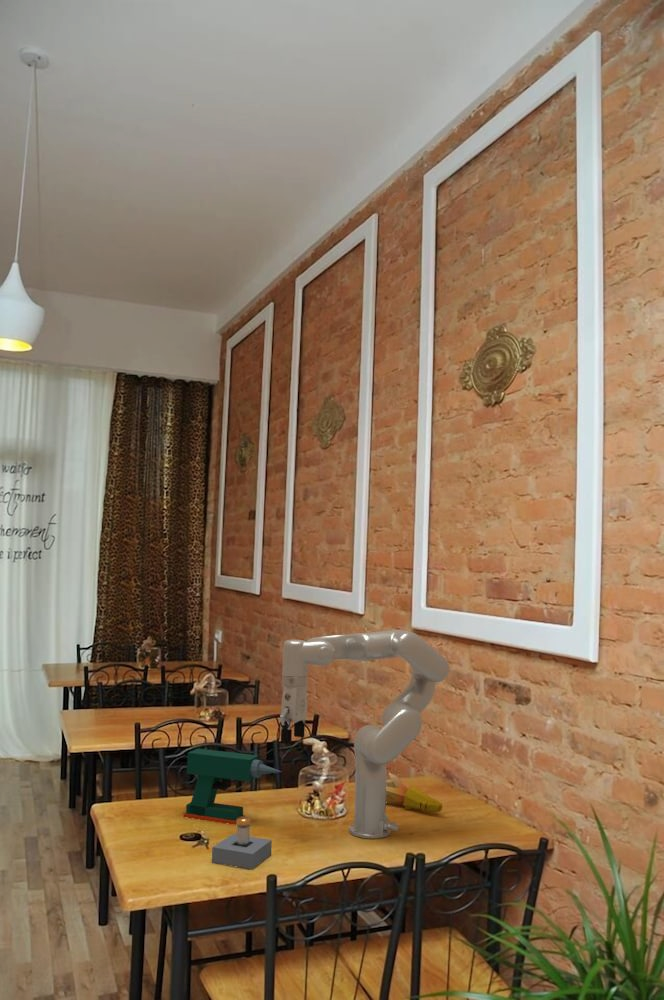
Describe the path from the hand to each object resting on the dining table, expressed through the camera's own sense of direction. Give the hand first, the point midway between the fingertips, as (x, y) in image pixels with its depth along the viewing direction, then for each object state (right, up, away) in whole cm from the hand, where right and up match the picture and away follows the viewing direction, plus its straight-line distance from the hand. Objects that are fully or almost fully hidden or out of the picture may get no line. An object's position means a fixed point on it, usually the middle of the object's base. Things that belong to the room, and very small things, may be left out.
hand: (292, 739), depth 238 cm
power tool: (-19, -29, +12) cm, 37 cm away
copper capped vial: (-13, -26, -20) cm, 36 cm away
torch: (+38, -32, +29) cm, 58 cm away
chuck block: (-13, -26, -20) cm, 36 cm away
